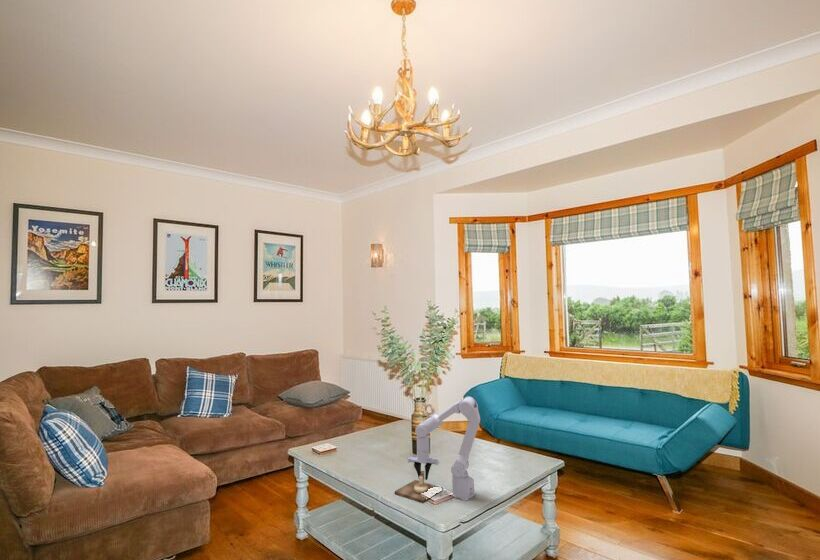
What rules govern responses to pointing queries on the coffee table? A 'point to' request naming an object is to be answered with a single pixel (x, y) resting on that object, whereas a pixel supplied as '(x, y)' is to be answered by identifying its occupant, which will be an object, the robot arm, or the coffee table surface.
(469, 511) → the coffee table surface
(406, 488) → the plate
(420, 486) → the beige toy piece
